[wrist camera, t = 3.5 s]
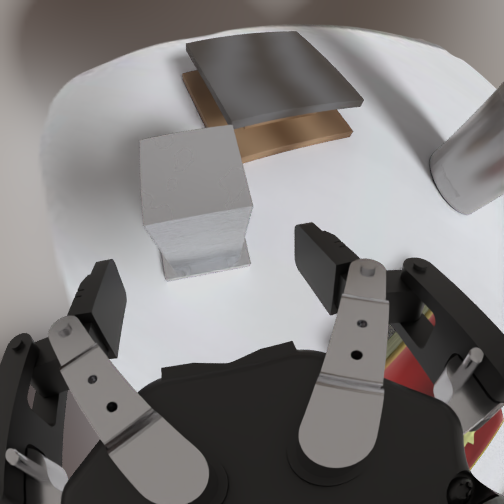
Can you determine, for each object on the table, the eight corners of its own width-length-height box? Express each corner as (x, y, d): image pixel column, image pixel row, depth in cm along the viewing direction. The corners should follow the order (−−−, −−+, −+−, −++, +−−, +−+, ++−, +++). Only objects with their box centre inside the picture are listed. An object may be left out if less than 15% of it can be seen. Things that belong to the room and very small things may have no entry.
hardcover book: (424, 289, 23) (453, 281, 19) (484, 414, 20) (507, 417, 16) (341, 376, 20) (366, 384, 16) (424, 489, 17) (445, 501, 13)
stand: (288, 61, 29) (297, 29, 24) (349, 136, 26) (370, 103, 21) (182, 79, 26) (180, 42, 21) (225, 168, 23) (227, 127, 18)
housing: (232, 189, 23) (241, 111, 14) (249, 266, 21) (272, 217, 12) (157, 202, 22) (127, 129, 13) (167, 281, 20) (130, 243, 11)
